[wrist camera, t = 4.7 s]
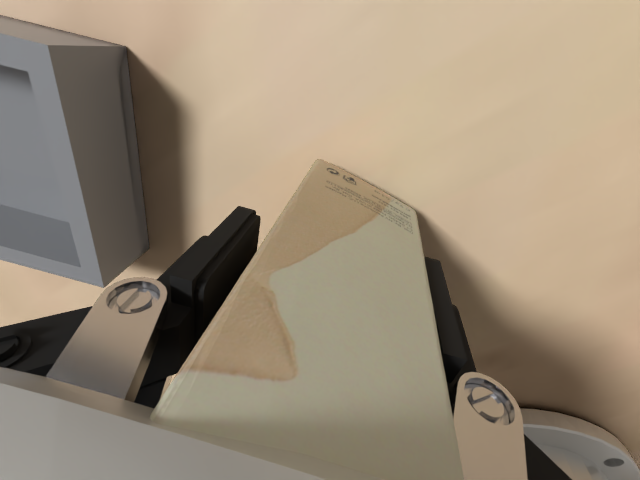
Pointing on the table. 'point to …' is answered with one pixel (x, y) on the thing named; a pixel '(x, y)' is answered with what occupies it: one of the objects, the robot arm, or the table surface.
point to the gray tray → (68, 155)
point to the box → (328, 341)
